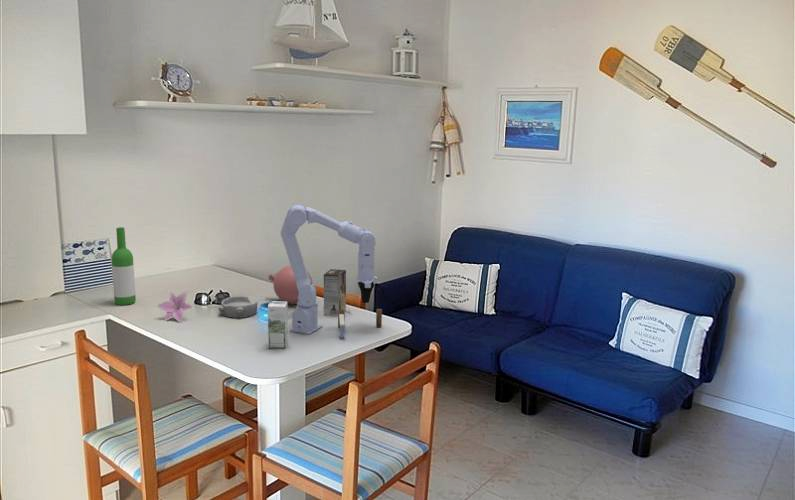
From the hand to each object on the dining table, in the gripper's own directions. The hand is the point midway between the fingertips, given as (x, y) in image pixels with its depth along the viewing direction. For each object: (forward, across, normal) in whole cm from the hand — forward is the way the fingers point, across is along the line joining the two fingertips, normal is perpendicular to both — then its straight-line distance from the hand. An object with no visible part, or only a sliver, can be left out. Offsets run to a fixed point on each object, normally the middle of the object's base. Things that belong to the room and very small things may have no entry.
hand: (365, 302), depth 229 cm
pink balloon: (+10, +34, +28) cm, 45 cm away
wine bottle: (+10, +36, +92) cm, 99 cm away
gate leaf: (+9, -6, +9) cm, 14 cm away
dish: (+10, +20, +46) cm, 51 cm away
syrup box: (+10, -16, +30) cm, 35 cm away
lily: (+10, +14, +68) cm, 70 cm away
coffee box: (+10, +18, +10) cm, 23 cm away
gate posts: (+9, 0, +2) cm, 10 cm away
